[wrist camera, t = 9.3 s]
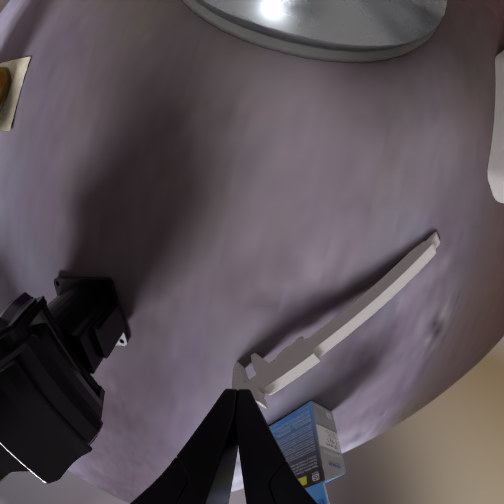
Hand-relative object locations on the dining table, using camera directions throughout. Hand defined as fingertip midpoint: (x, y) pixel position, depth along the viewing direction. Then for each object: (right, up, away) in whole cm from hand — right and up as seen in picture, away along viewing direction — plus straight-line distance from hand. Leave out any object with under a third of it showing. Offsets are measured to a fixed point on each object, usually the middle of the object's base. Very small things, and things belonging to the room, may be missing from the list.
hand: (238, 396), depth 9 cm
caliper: (+7, +1, +13) cm, 15 cm away
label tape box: (+5, -14, +18) cm, 23 cm away
